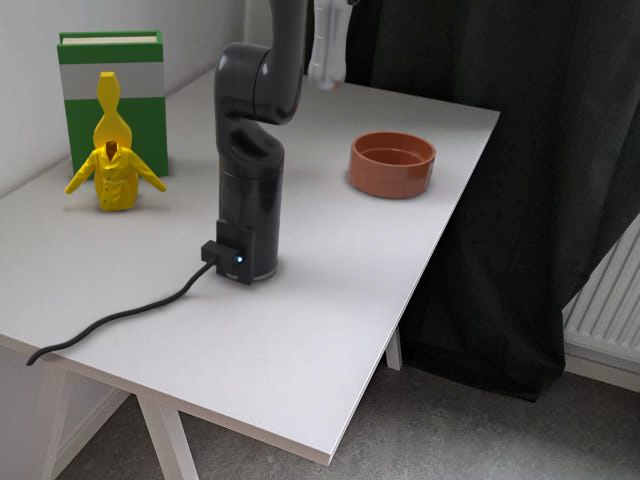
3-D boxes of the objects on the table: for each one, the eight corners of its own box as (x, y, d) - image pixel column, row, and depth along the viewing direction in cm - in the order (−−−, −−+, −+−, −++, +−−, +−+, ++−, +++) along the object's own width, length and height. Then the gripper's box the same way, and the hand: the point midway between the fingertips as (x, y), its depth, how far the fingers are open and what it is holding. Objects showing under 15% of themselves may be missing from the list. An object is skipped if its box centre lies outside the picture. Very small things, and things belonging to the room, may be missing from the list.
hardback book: (74, 179, 135) (56, 46, 120) (76, 161, 141) (59, 32, 125) (168, 175, 137) (162, 43, 121) (166, 158, 142) (160, 30, 127)
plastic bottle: (342, 96, 125) (358, -32, 112) (303, 92, 126) (315, -35, 113) (345, 83, 130) (361, -41, 117) (308, 80, 131) (319, -44, 118)
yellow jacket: (65, 214, 125) (46, 87, 111) (70, 193, 131) (52, 70, 117) (168, 212, 126) (162, 86, 112) (168, 191, 132) (162, 68, 118)
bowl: (424, 205, 129) (432, 171, 125) (341, 192, 132) (345, 159, 128) (432, 169, 140) (439, 137, 136) (354, 158, 143) (359, 126, 139)
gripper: (292, -121, 108) (284, -1, 119) (380, -112, 102) (364, 13, 113) (315, -127, 113) (306, -11, 124) (401, -118, 107) (383, 3, 118)
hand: (333, 0), depth 119 cm, fingers closed on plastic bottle, 6 cm apart
